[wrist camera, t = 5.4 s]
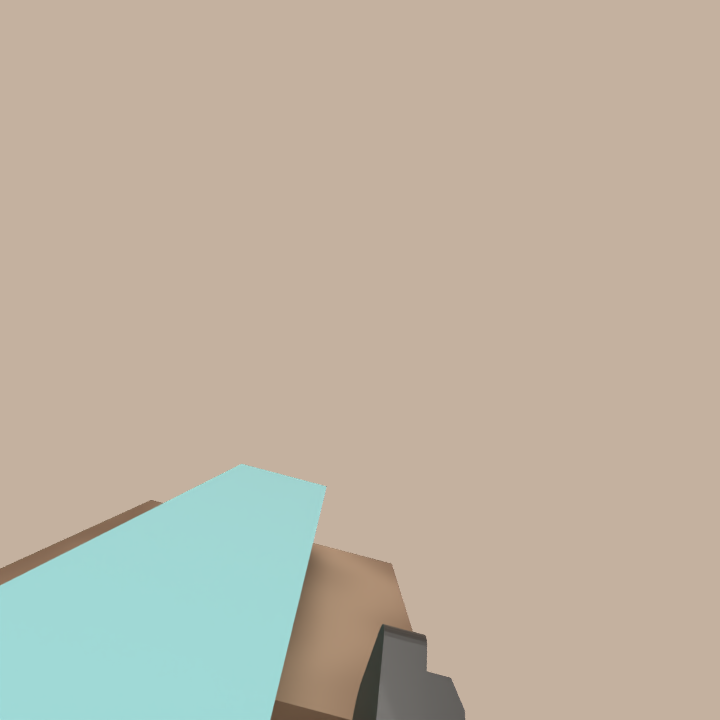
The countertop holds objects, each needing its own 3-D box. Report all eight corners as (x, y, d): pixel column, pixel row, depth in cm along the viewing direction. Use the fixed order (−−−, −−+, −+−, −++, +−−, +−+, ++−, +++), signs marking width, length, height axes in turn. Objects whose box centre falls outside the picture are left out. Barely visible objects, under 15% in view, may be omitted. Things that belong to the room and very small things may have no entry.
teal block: (-339, 1072, 5) (-215, 693, 5) (223, 528, 29) (241, 463, 29) (146, 1199, 5) (247, 815, 5) (309, 551, 29) (326, 486, 29)
